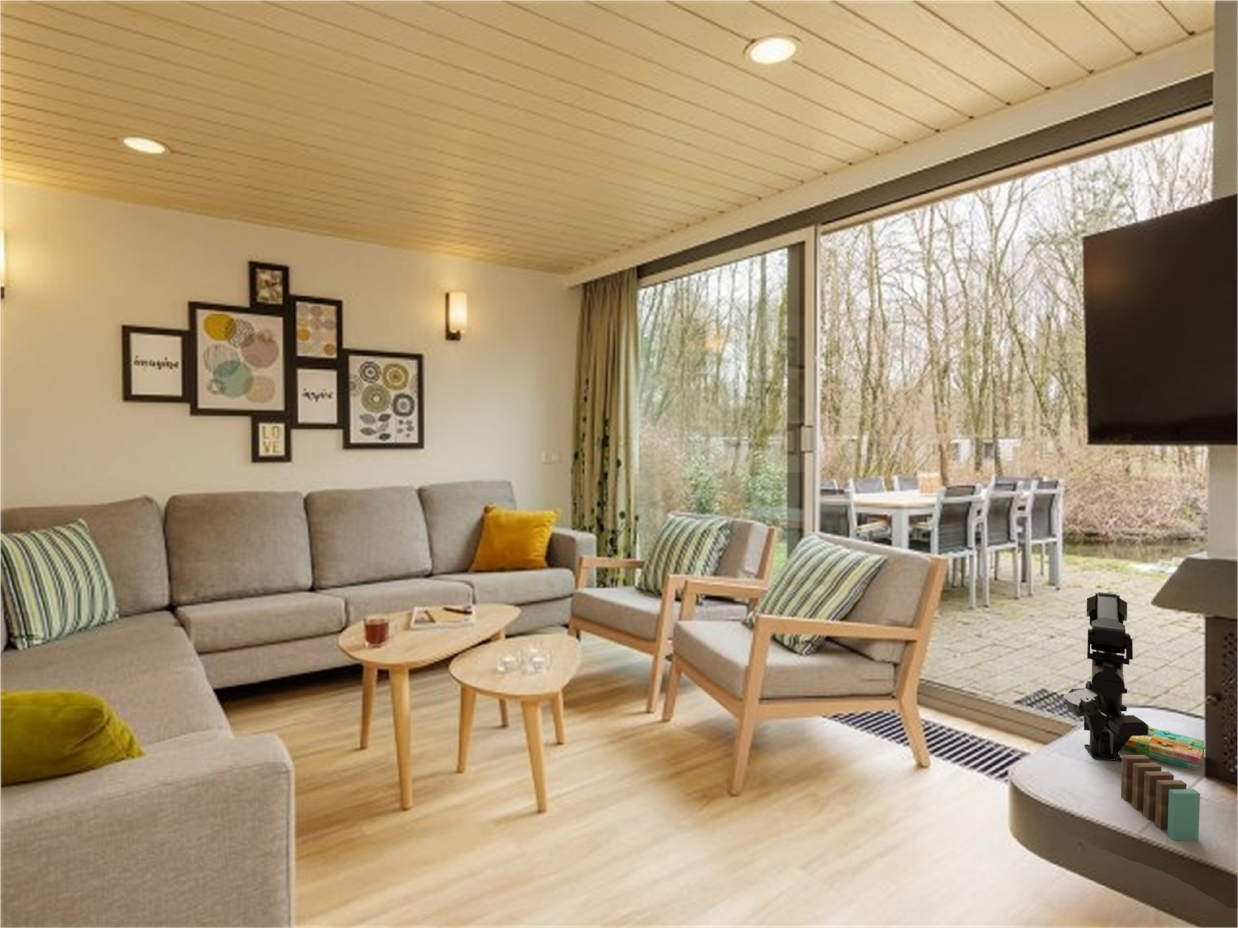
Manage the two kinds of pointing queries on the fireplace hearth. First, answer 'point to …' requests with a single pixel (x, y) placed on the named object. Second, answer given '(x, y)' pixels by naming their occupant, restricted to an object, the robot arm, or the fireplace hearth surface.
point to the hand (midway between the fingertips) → (1105, 747)
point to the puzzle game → (1168, 748)
